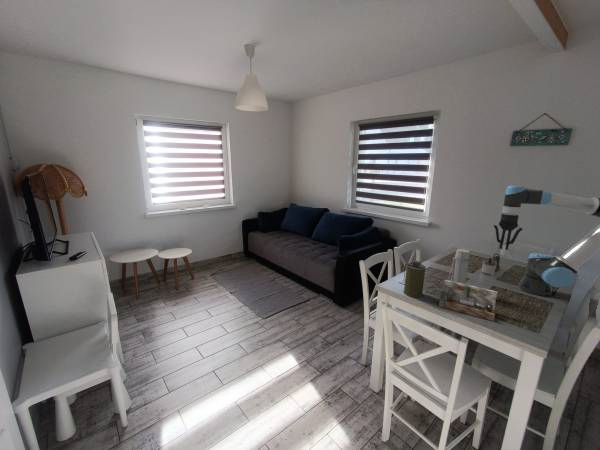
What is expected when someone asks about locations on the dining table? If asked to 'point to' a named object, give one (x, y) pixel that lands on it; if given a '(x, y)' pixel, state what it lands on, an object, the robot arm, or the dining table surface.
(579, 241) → the robot arm
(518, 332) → the dining table surface
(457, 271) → the water bottle
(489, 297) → the brown wooden box
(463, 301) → the silver block with knob
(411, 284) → the canister
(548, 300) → the dining table surface
